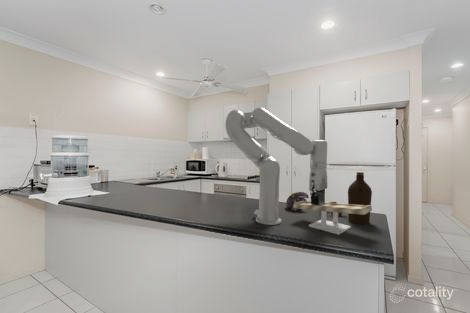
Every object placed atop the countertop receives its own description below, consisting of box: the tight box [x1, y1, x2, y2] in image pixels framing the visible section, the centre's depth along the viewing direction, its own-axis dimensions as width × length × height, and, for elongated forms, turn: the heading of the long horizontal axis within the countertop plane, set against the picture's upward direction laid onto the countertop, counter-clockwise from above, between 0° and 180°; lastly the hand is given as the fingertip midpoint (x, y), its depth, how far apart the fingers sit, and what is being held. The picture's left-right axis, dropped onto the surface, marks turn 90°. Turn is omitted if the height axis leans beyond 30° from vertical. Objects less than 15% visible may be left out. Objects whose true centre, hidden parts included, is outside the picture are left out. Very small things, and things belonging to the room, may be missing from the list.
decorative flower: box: [285, 191, 309, 213], centre depth 139 cm, size 14×12×15 cm
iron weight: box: [310, 191, 325, 206], centre depth 111 cm, size 4×4×6 cm
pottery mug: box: [328, 201, 343, 218], centre depth 129 cm, size 12×10×8 cm
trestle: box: [308, 211, 352, 235], centre depth 106 cm, size 14×13×8 cm
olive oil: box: [347, 171, 373, 226], centre depth 116 cm, size 11×11×25 cm
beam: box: [294, 200, 373, 215], centre depth 106 cm, size 32×11×3 cm, turn 44°
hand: (317, 203), depth 111 cm, fingers open, 5 cm apart
